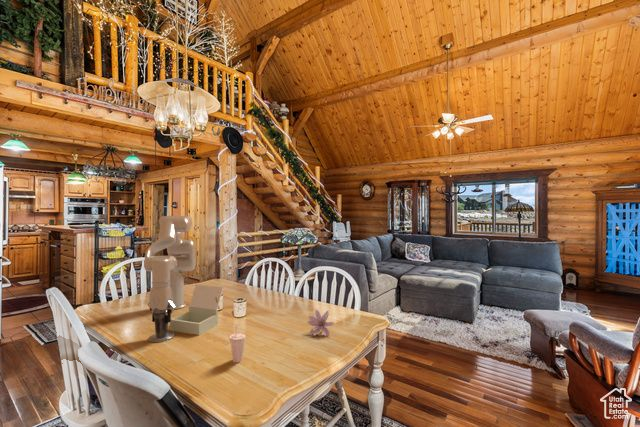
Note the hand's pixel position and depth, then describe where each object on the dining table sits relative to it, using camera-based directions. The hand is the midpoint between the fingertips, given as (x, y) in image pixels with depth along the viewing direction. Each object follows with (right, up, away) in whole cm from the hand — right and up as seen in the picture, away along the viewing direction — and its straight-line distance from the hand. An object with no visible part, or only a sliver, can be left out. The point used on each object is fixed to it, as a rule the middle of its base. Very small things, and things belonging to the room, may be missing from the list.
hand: (161, 321), depth 142 cm
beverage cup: (0, -7, 0) cm, 7 cm away
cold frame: (+11, -7, +14) cm, 20 cm away
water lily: (+75, -8, +4) cm, 76 cm away
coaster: (0, -8, 0) cm, 8 cm away
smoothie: (+42, -8, -22) cm, 48 cm away
